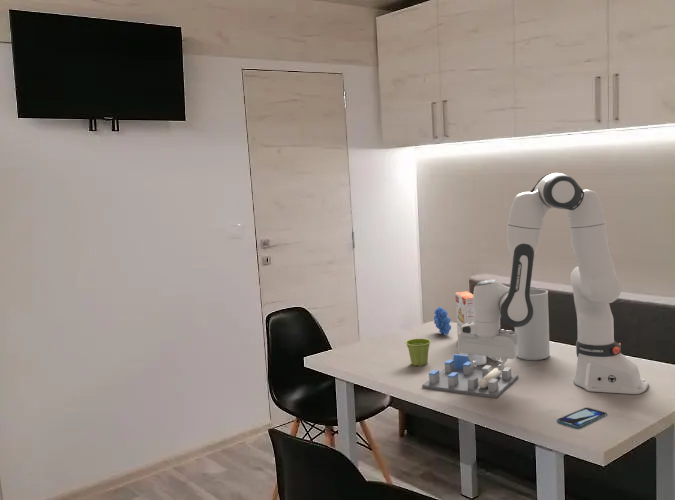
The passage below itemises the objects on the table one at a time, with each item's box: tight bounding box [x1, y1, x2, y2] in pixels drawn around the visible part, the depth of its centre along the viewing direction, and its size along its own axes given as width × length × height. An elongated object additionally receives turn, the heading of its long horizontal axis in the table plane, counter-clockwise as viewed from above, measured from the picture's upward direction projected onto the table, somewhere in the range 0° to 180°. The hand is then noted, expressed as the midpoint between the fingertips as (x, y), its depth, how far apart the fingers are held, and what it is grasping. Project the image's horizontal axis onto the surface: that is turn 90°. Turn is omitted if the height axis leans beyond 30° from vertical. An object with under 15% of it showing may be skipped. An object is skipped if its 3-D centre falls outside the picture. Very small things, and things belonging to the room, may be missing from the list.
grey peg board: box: [421, 353, 519, 399], centre depth 229 cm, size 26×22×6 cm
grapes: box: [433, 306, 452, 336], centre depth 294 cm, size 12×7×12 cm, turn 24°
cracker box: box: [454, 291, 474, 334], centre depth 275 cm, size 14×6×21 cm, turn 6°
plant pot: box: [405, 338, 432, 367], centre depth 254 cm, size 9×9×9 cm
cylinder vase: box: [514, 287, 550, 361], centre depth 253 cm, size 12×12×25 cm
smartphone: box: [556, 407, 608, 429], centre depth 192 cm, size 7×1×15 cm
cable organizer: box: [457, 331, 501, 366], centre depth 252 cm, size 15×11×12 cm
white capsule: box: [478, 367, 502, 389], centre depth 225 cm, size 16×3×3 cm, turn 147°
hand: (487, 368), depth 224 cm, fingers open, 8 cm apart
